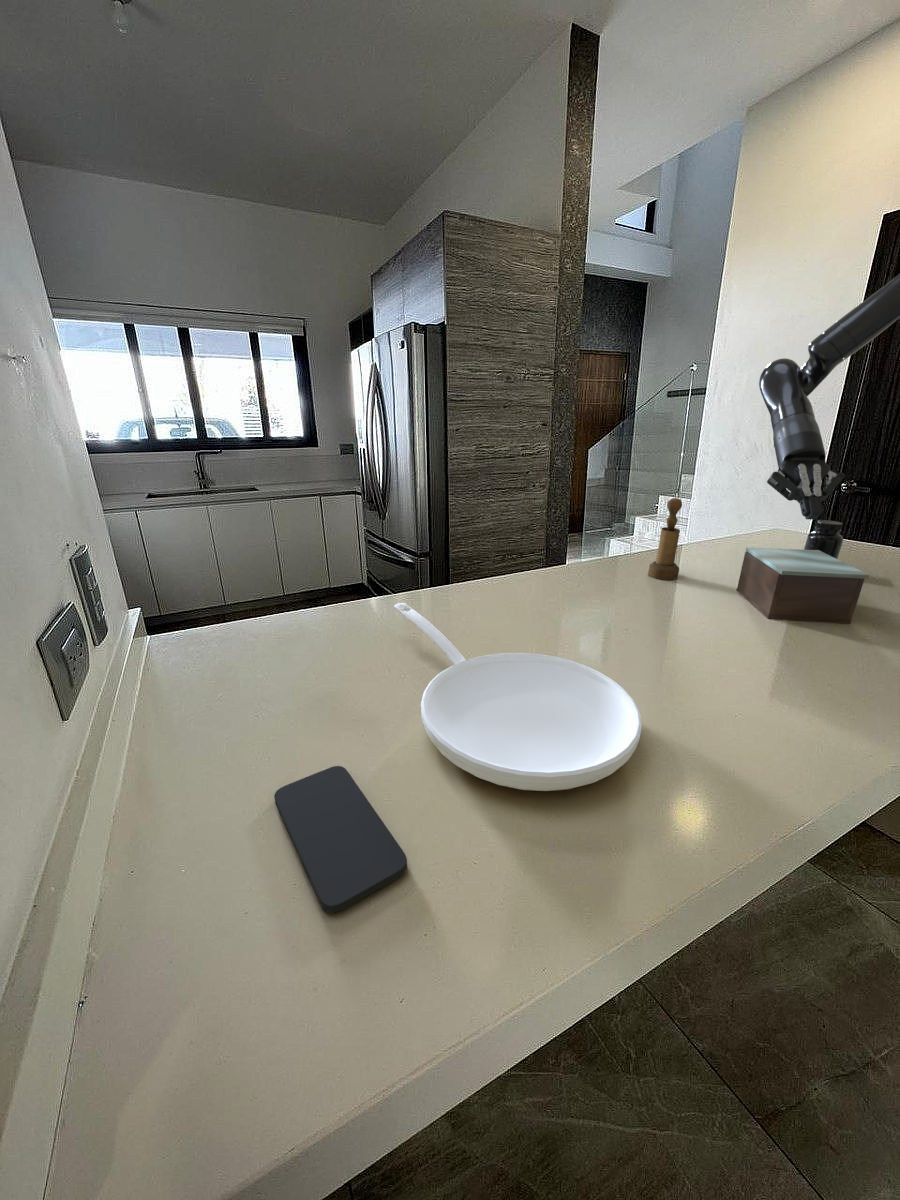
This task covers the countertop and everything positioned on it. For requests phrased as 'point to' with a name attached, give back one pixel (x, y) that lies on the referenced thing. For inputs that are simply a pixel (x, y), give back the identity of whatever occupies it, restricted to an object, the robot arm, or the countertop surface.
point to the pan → (527, 717)
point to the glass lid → (805, 563)
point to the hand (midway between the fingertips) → (813, 517)
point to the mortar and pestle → (667, 546)
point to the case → (798, 594)
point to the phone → (339, 838)
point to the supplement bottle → (825, 538)
